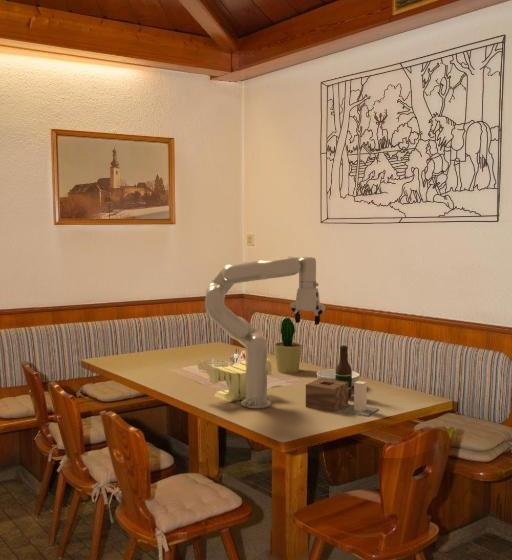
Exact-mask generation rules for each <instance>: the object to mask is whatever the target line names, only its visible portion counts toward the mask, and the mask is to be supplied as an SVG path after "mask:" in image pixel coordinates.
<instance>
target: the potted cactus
mask: <svg viewBox="0 0 512 560" xmlns="http://www.w3.org/2000/svg"><path fill="white" fill-rule="evenodd" d="M280 320H281V319H280ZM293 321H294V320H292V319H291V317H284V318H283V319H282V320H281V321H280V325H279V326H280V327H279V331H280V332H279V335H280V336H281V337H280V340H281V341H279V342H275V343H274V344H273V346H274V353H275V361H276V368H277V372H278V373H281V374H296V373H298V372H299V370H300V362H301V356H302V349H303V343H301V342H298V341H297V342H296V341H294V336H295V334H296V332H297V327H296V326H295V323H294V322H293Z"/></svg>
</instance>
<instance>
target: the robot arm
mask: <svg viewBox="0 0 512 560" xmlns="http://www.w3.org/2000/svg"><path fill="white" fill-rule="evenodd" d="M295 275H298V288H297V290H296V296H295V298H296V299H295V300H294V301H292V302H291V303H289V306H290V308H291V311H292V312H293V314H294V321H295V323H294V324H298V323H301V313H300V312H301V311H304V312H313V313H314V315H315V316H314V325H315V326H317V325H320V322H321V315H322V314H323V313H324V311H325V310H326V305H325V304H323V303H321V302H320V294H319V293H320V292H319V288H317V287H319V283H318V282H317V259H316V258H315V257H312V256H311V257H310V256H308V257H307V256H303V257H296V256H286V257H284V258H283V259H276V260H253V261H252V260H251V261H246V262H240V263H239V262H238V263H227V264H225V265H224V266H223V267H222V268H221V270H220V271H219V272H218V274H217V275H216V276H215V277H214V279H212V281H211V282H210V284H209V285H208V286H207V287H206V290H205V298H204V309H205V311H206V315H207V316H208V317H209V318H210V320H212V321H213V322H214V323H215V324H216V325H218V326H219V327H220V328H221V329H222V330H223V331H224V332H225V333H226V334H227V335H228V336H229V337H230V338H232V339H233V340H235V341H237V342H238V343H239V344H241V345H242V346H243V347H244V348H245V359H246V396H245V399H244V400H240V404H241V406H243V407H244V408H247V409H265V408H268V407H270V406H271V405H272V403H271V401H270V400H269V399H268V375H267V358H268V353H269V348H268V346H269V345H268V342H267V340H266V338H265V337H264V335H263V334H262V333H261V332H260V331H259V330H258V329H256V328H255V327H254V326H253V325H252V324H251V323H249V322H248V320H246V319H245V318H244V317H242V316H238V315H236V314H235V313H234V312H233V311H232V310H231V309H230V308H229V307H227V306H226V305H225V299H226V294H227V293H228V292H229V291H230V289H232V288H233V286H234V285H235V284H241V283H246V282H247V283H248V282H255V281H262V280H269V279H277V278H278V279H279V278H285V277H290V276H291V277H292V276H295Z"/></svg>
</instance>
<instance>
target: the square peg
mask: <svg viewBox="0 0 512 560" xmlns="http://www.w3.org/2000/svg"><path fill="white" fill-rule="evenodd" d="M367 384H368V382H367V381H362V380H358V381H357V382H355V383H354V386H353V387H354V388H353V389H354V390H353V396H354V397H353V404H354V410H356V411H362V412H363V411H364V410H366V407H367V403H368V401H367V400H368V399H367V397H368V396H367V395H368V394H367V392H368V390H367V389H368V385H367Z"/></svg>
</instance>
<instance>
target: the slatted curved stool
mask: <svg viewBox="0 0 512 560" xmlns="http://www.w3.org/2000/svg"><path fill="white" fill-rule="evenodd" d="M197 367H198V368H200V369H202V370H203V371H205V373H206V374H207V375H208V378H209V380H210V381H209V382H210V383H212V384H215V385H216V384H218V383H219V382H226V383H225V384H226V386H227V387H228V389H225V390H219V391H218V390H217V391H216V392H215V394H214V397H215V398H218V397H219V398H218V399H220V398H221V399H220V400H222V399H223V400H222V401H224V400H226V401H228V402H227V403H231V402H237V400H238V401H243V400H245V396H246V358H245V359H244V360H242V361H240V362H238V363H235V364H232V365H231V366H230V365H229V366H223V367H222V366H213V365H210V364H207V363H205V362H202V361H199V360H197ZM267 376H272V363H271V360H270V359H269V358H268V357H267ZM226 401H225V402H226Z"/></svg>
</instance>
